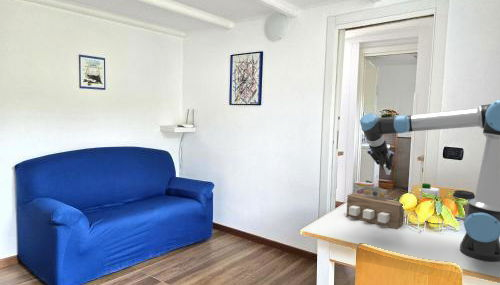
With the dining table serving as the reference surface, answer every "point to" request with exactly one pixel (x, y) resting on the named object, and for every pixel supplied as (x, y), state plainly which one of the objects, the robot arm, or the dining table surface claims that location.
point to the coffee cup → (464, 195)
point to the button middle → (369, 213)
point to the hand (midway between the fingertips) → (388, 172)
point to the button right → (384, 217)
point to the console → (377, 206)
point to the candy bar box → (361, 187)
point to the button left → (355, 210)
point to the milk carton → (429, 190)
